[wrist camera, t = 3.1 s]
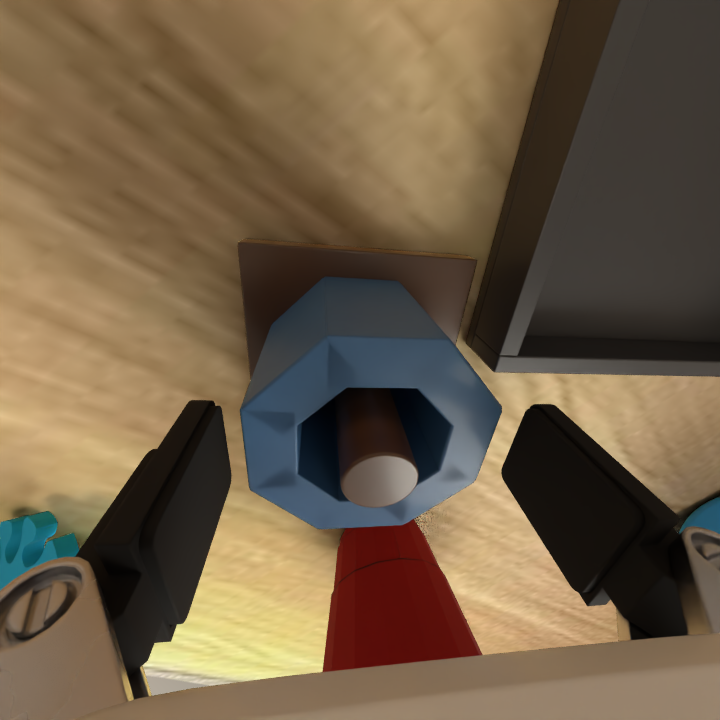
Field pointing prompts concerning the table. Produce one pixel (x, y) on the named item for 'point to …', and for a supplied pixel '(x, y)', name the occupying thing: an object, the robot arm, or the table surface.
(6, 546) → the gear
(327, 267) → the dowel stand
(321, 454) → the ring
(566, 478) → the robot arm
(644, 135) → the tray
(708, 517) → the alarm clock
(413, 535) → the plastic cup
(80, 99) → the table surface
